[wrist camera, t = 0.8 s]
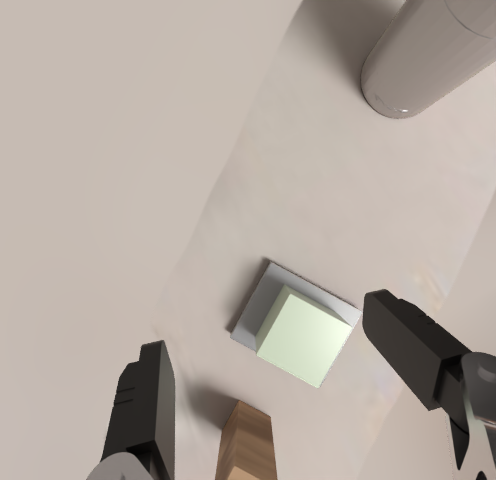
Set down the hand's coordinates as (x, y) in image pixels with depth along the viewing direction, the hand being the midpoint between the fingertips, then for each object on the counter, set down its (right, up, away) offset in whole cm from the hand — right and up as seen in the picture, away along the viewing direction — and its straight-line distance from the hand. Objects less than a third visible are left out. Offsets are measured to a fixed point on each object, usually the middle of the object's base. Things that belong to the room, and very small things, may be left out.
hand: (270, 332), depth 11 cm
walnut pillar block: (-1, -19, +24) cm, 31 cm away
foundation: (+5, -6, +24) cm, 25 cm away
